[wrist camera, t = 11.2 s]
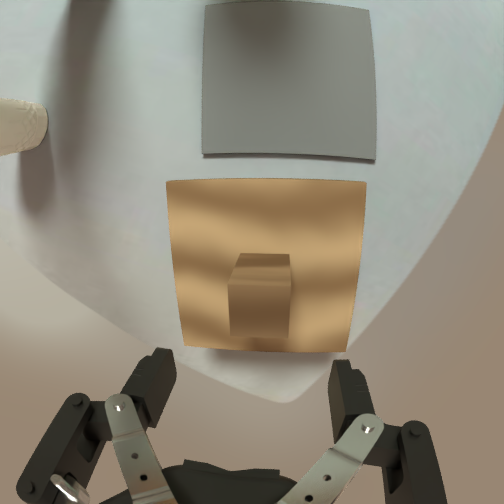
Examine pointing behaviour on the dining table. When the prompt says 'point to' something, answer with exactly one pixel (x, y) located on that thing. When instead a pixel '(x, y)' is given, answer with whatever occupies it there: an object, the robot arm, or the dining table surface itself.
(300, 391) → the dining table surface
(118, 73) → the dining table surface
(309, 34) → the grey mat
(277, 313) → the oak lid
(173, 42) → the dining table surface
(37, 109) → the white cup
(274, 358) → the dining table surface
